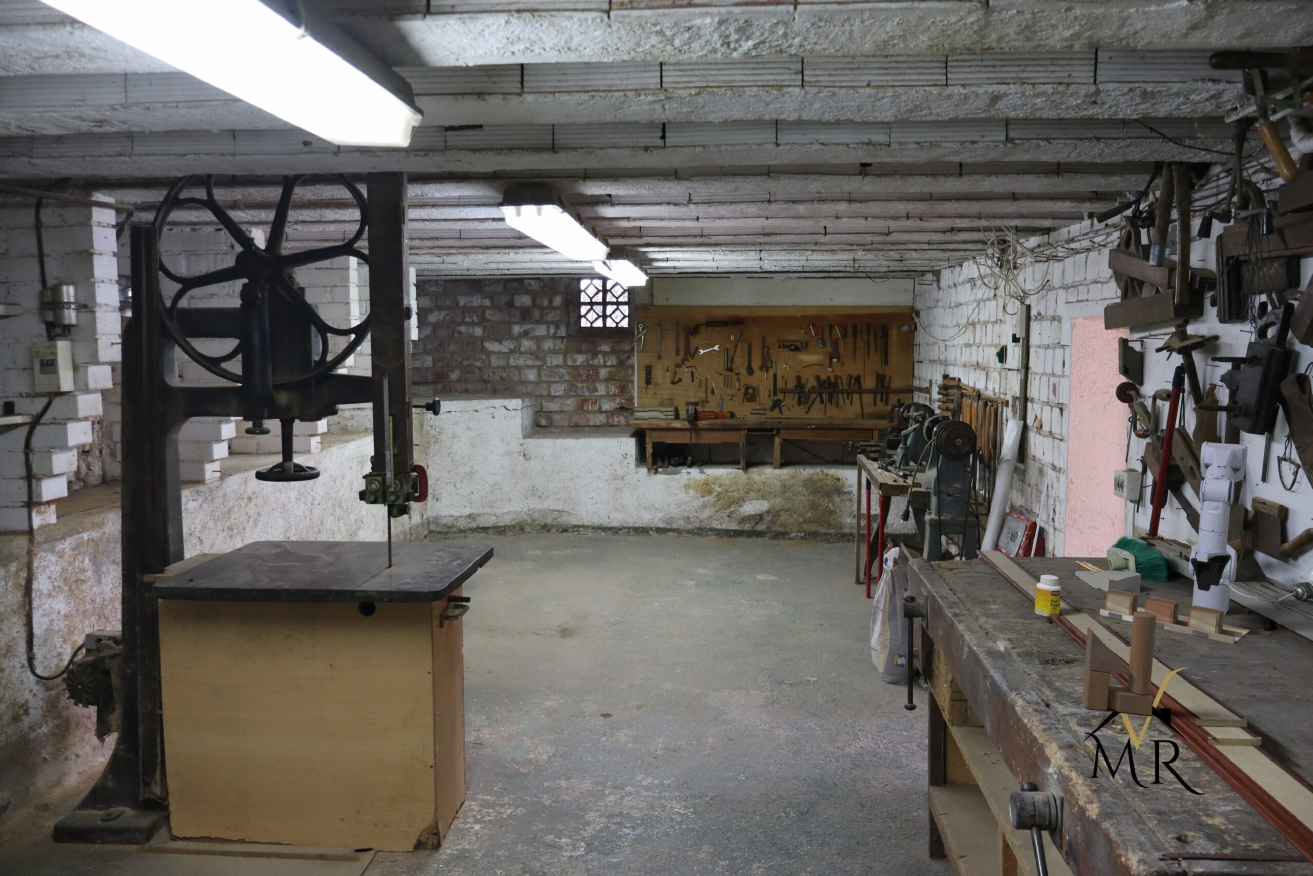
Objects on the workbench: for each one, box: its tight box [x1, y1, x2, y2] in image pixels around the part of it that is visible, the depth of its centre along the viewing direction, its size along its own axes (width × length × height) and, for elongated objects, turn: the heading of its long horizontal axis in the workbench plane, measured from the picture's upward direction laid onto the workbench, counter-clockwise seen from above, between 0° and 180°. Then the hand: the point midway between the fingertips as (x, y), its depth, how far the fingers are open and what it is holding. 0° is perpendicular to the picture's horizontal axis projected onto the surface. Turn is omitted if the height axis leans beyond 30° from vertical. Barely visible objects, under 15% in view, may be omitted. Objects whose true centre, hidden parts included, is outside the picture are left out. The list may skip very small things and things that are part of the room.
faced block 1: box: [1104, 589, 1139, 616], centre depth 216 cm, size 4×6×6 cm
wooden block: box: [1081, 611, 1157, 716], centre depth 160 cm, size 4×11×18 cm, turn 76°
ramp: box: [1074, 569, 1142, 593], centre depth 250 cm, size 28×16×5 cm, turn 157°
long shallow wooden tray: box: [1099, 606, 1251, 645], centre depth 212 cm, size 15×28×2 cm, turn 44°
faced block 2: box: [1187, 605, 1225, 634], centre depth 204 cm, size 4×6×6 cm
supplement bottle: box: [1034, 574, 1062, 618], centre depth 216 cm, size 6×6×10 cm
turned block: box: [1144, 596, 1180, 625], centre depth 210 cm, size 4×6×6 cm
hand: (1208, 587), depth 208 cm, fingers open, 7 cm apart
